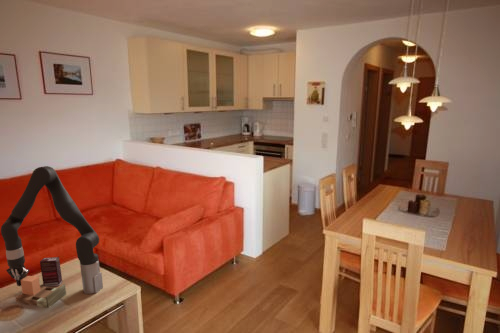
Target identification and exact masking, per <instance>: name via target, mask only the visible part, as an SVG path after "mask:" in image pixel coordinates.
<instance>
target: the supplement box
mask: <svg viewBox="0 0 500 333" xmlns="http://www.w3.org/2000/svg"><path fill="white" fill-rule="evenodd" d="M39 265H40V272H41V279H42V286H45V287H57V286H58V287H60V286H61V284H62V282H63V278H62V277H63V276H62V270H61V263H60V257H59V256H55V257H54V256H53V257H43V258H42V259H41V260H39Z"/></svg>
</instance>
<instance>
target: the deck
mask: <svg viewBox="0 0 500 333" xmlns="http://www.w3.org/2000/svg"><path fill="white" fill-rule="evenodd" d="M40 289H41V291H39V292H38V293H36V294H35V295H28V294H23V293H22V292H21V294H19V295H17V296H16V297H15V301H16V302H15V303H16V304H21V303H22V305H27V306H35V307H42V308H51V307H52V306H53V305H54V304H56V303H57V302H59V301H60V300H61V299H62V298H64V297H65V296H66V295H67V288H66V284H64V283H63V284H62V285H59V286H58V287H53V286H48V287H45V286H43V285H40Z"/></svg>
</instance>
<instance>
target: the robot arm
mask: <svg viewBox="0 0 500 333" xmlns="http://www.w3.org/2000/svg"><path fill="white" fill-rule="evenodd" d="M44 186H45V187H46V188H47V189H48V191H49V193H50V195H51V198H52V203H53V206H54V208H55V209H54V210H56V212H57V214H58V215H59V216H60V218H61V219H62V220H63V221H65V222H66V223H68V224H69V225H71V226H73V227H74V228H75V229H77V231H78V233H79V234H80V237H78V238H77V239H76V241H75V250H76V255H77V256H76V257H77V259H78V261H79V265H80V266H79V267H80V274H81V276H80V277H81V283H82V291H83V293H84V294H85V295H93V294H97V293H98V292H99V291H100V290H101V289H103V288H104V285H103V275H102V273H103V272H102V271H101V270H100V261H99V254H97V253H94V249H95V247H96V246H98V245H99V243H100V237H99V235H98V233H97V232H96V230H94V227H92V226H91V224H90V223H89V222H88V221H87V219H86V218H85V216H84V215H83V214H82V212H81V211H80V208H79V207H78V206H77V204H76V202H75V201H74V200H73V198H72V197H71V195H70V194H69V192H68V191H67V190H66V188H65V186H64V185H63V183H62V181H61V179H60V177H59V175H58V173H57V171H56V170H55V169H54V168H53V167H51V166H48V165H47V166H46V165H45V166H39V167H36V168H35V169H34V170H33V172H32V174H31V175H30V178H29V180H28V183H27V185H26V187H25V189H24V190H23V193H22V195H20V196H21V197H20V198H19V199H18V201H17V202H16V204H15V205H14V207H13V209H12V210H11V213H10V215H9V216H8V217H7V218H6V220H5V222H4V223H3V224H2V225H1V226H0V233H1V237H2V238H3V241H4V247H5V255H6V256H5V257H6V263H7V266H8V267H9V268H7V269H5V271H6V272H7V273H8V275H9V276H10V277H11V278H12V279H14V280H15V282H16V286H18V287H22V286H21V280H22V279H23V278H25V277H27V276H28V274H29V273H30V269H29V268H28V269H26V266H25V262H26V259H25V253H24V248H23V243H22V238H21V237H20V236H19V233H18V230H19V229H20V227H21V226H22V224H23V222H24V220H25V218H27V216H28V214H29V213H30V211H31V210H32V208H33V207H34V205H35V203H36V198H37V197H38V195H39V193H40V191H41V190H42V188H43V187H44Z"/></svg>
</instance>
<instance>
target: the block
mask: <svg viewBox="0 0 500 333" xmlns="http://www.w3.org/2000/svg"><path fill="white" fill-rule="evenodd" d="M40 286H41V284H40V277H39V276H34V275H33V276H31V275H27V276H26V277H25V278H23V279H22V280H21V286H20V287H21V291H22V292H21V294H22V293H23V294H28V295H35V294H36V293H38V292H39V291H41V289H40Z"/></svg>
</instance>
